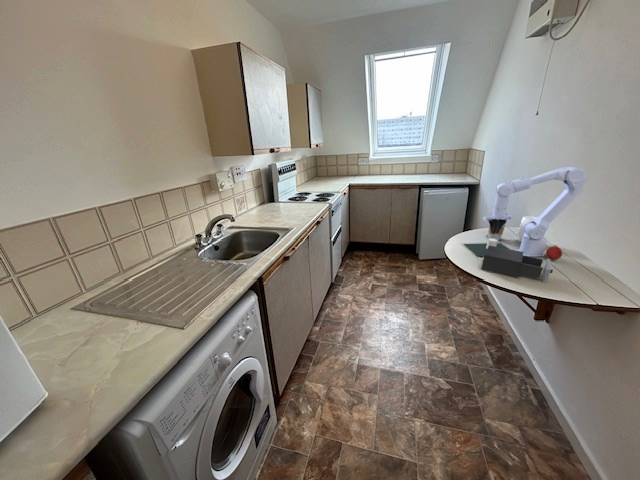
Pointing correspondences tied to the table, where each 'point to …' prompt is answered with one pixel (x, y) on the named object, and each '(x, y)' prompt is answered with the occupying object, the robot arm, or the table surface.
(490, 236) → the coffee cup
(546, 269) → the drawer
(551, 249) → the onion
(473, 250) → the mat
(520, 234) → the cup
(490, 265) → the dark grey stepped box
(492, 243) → the container
